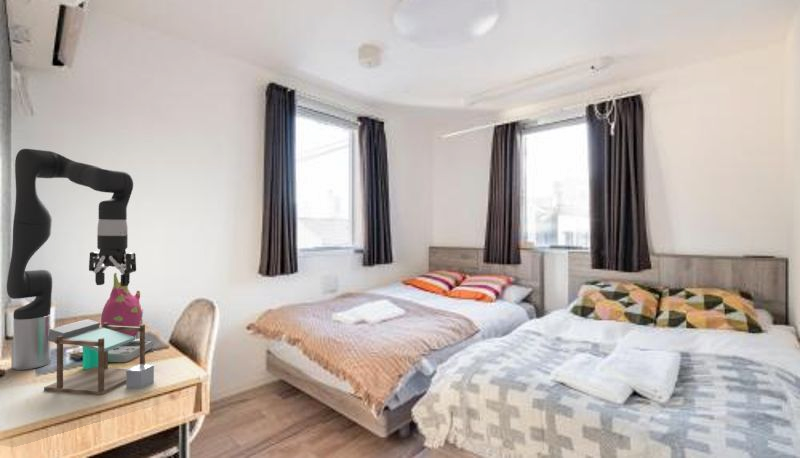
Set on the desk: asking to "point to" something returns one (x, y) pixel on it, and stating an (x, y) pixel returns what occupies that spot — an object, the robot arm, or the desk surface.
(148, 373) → the grey rectangular block
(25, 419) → the desk surface
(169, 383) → the desk surface
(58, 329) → the trapdoor
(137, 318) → the pink dragon fruit
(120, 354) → the handheld gaming device
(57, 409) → the desk surface
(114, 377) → the frame
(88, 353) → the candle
